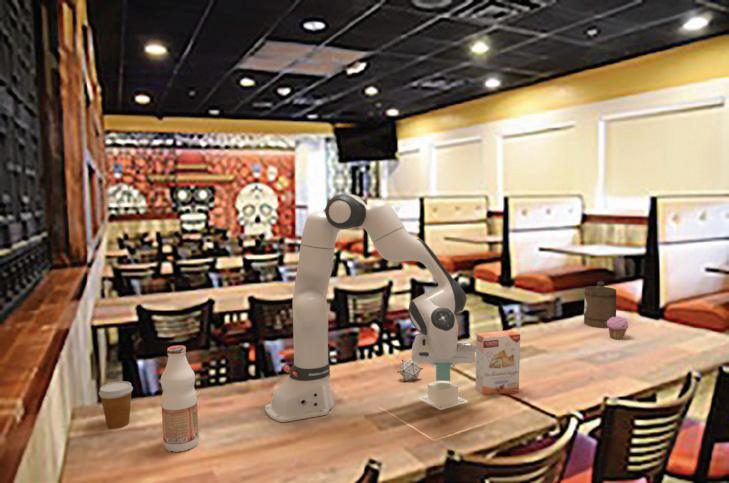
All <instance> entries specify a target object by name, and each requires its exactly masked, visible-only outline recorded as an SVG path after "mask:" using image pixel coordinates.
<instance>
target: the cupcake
mask: <svg viewBox="0 0 729 483" xmlns="http://www.w3.org/2000/svg"><path fill="white" fill-rule="evenodd" d="M607 326H608V327H609V328H608V334H609V337H610V338H612V339H614V340H621V339H623V338H624V337H625V336H626V333H627V330H628V328H629V324H628V321H627V320H626V319H625V318H624V317H621V316H616V317H611V318H610V319H609V320H608V321H607Z"/></svg>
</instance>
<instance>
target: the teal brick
mask: <svg viewBox="0 0 729 483" xmlns="http://www.w3.org/2000/svg"><path fill="white" fill-rule="evenodd" d="M435 374H436V376H435V377H436V378H435V379H436V380H435V382H438V381H448V382H451V367H450V363H436V366H435Z"/></svg>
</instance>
